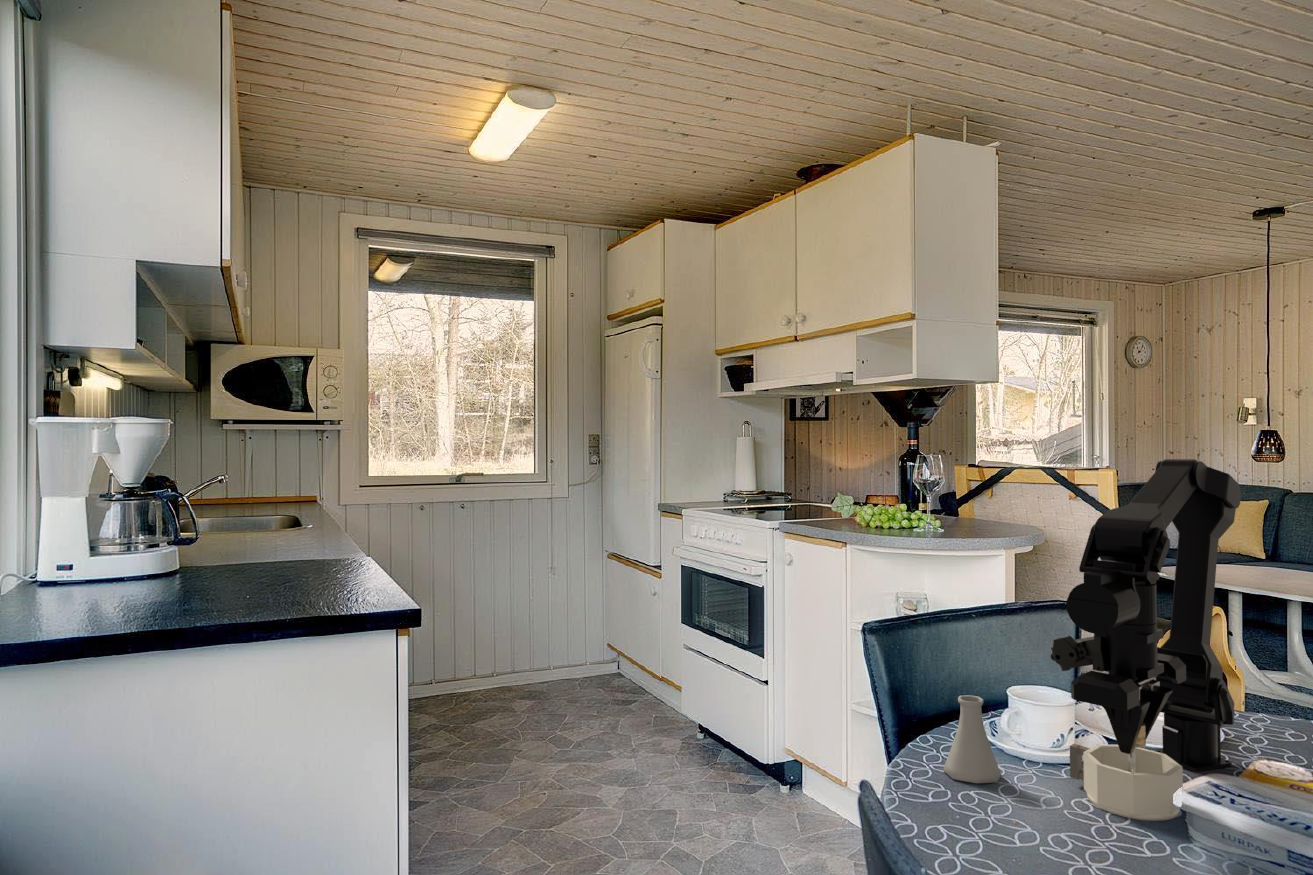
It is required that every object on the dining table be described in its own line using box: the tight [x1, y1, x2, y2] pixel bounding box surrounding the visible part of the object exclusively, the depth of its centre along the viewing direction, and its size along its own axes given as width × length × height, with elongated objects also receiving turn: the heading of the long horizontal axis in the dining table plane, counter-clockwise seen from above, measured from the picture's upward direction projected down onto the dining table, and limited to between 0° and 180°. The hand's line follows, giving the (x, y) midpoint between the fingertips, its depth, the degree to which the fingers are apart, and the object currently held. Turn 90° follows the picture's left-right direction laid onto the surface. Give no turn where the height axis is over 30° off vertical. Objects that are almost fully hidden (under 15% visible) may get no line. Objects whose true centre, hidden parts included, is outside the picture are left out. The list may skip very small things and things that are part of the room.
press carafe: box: [1069, 743, 1184, 822], centre depth 101 cm, size 10×12×5 cm
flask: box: [942, 694, 1002, 784], centre depth 110 cm, size 7×7×10 cm
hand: (1131, 749), depth 101 cm, fingers closed on plunger, 3 cm apart
